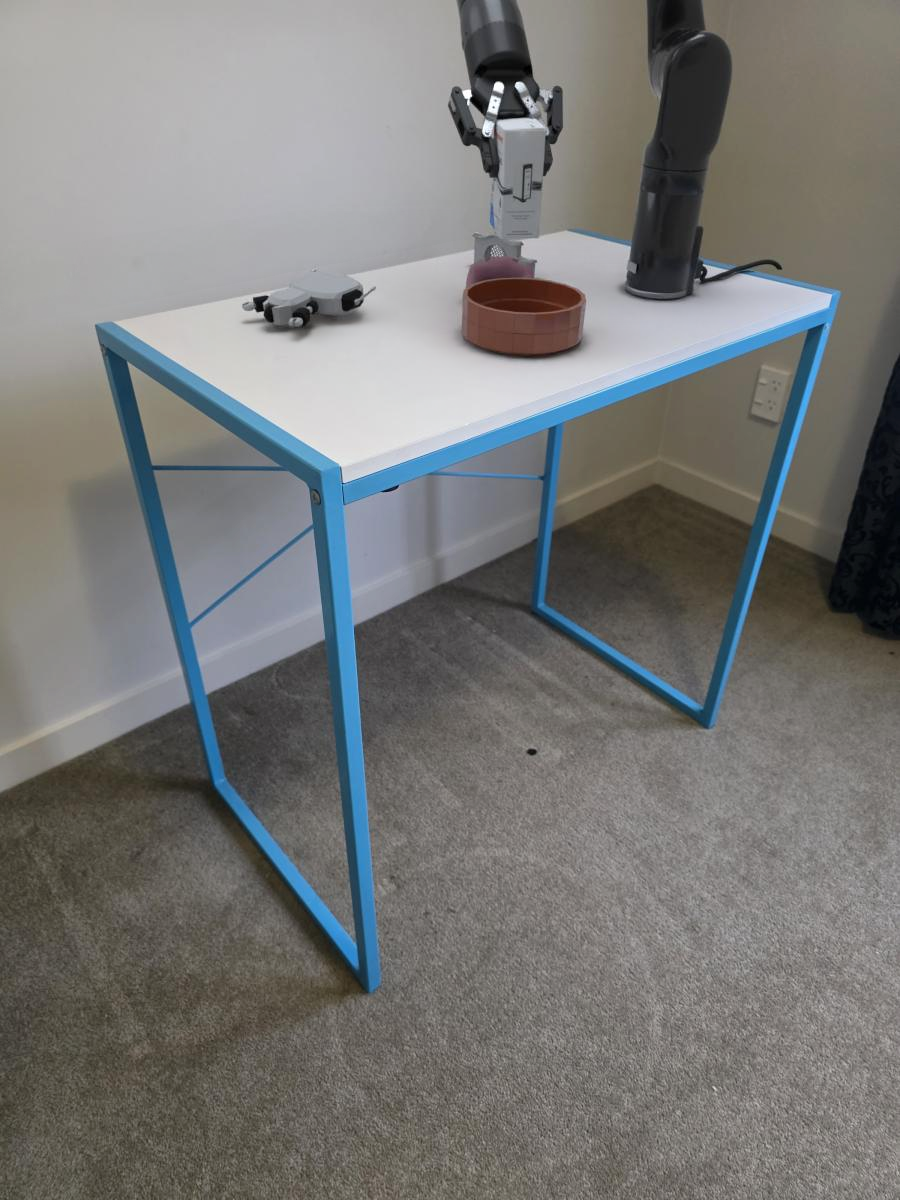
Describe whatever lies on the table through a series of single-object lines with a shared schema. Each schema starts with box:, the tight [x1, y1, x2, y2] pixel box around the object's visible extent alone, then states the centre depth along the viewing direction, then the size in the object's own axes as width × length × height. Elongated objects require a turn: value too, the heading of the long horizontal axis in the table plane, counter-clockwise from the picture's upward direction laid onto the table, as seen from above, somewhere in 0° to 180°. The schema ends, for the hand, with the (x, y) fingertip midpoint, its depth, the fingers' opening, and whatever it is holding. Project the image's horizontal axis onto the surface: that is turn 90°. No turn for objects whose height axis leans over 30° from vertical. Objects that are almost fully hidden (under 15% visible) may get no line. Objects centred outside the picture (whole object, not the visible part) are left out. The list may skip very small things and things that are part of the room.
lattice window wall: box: [471, 231, 538, 276], centre depth 136 cm, size 12×2×6 cm, turn 49°
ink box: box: [489, 117, 546, 240], centre depth 102 cm, size 9×5×12 cm, turn 6°
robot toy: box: [241, 269, 377, 329], centre depth 116 cm, size 12×4×15 cm
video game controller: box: [465, 255, 535, 289], centre depth 124 cm, size 10×5×7 cm, turn 84°
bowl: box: [461, 277, 587, 356], centre depth 111 cm, size 16×16×6 cm
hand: (520, 172), depth 100 cm, fingers closed on ink box, 5 cm apart
